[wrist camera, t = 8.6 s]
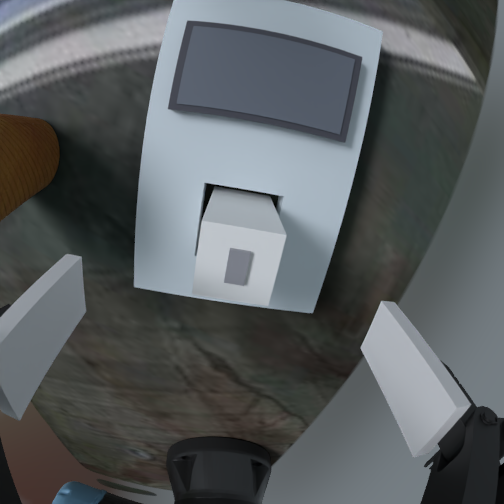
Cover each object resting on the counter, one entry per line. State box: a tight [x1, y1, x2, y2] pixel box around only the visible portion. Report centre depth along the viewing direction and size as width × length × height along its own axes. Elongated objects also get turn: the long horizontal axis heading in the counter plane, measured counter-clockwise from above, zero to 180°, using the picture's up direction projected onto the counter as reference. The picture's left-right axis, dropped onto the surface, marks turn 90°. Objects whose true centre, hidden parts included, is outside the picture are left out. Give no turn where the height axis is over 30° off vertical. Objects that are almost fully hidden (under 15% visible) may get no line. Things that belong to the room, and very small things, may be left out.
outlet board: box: [134, 0, 383, 313], centre depth 19 cm, size 22×14×2 cm, turn 169°
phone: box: [168, 20, 362, 143], centre depth 16 cm, size 6×11×1 cm, turn 79°
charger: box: [192, 187, 287, 306], centre depth 18 cm, size 4×4×8 cm
